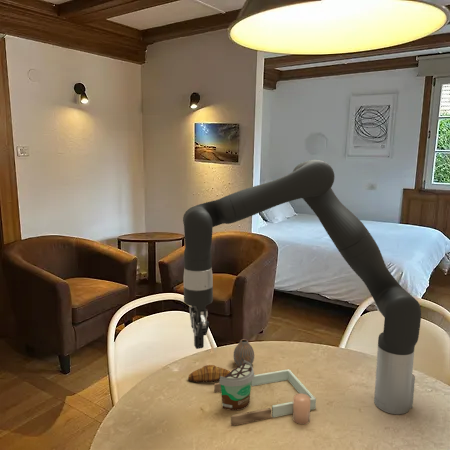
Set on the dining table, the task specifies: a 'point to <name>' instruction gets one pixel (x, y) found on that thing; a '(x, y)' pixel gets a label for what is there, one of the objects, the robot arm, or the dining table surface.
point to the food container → (237, 387)
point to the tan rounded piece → (301, 408)
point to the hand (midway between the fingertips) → (198, 347)
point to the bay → (281, 376)
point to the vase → (243, 353)
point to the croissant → (208, 374)
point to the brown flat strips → (246, 413)
